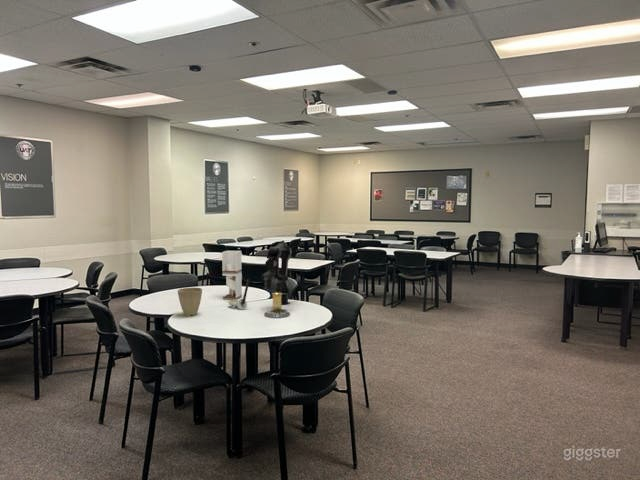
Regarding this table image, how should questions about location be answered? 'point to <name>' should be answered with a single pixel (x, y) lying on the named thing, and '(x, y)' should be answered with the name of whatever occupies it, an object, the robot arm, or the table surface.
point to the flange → (277, 314)
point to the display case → (232, 274)
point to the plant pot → (190, 300)
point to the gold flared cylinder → (276, 302)
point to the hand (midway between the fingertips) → (274, 290)
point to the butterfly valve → (241, 302)
